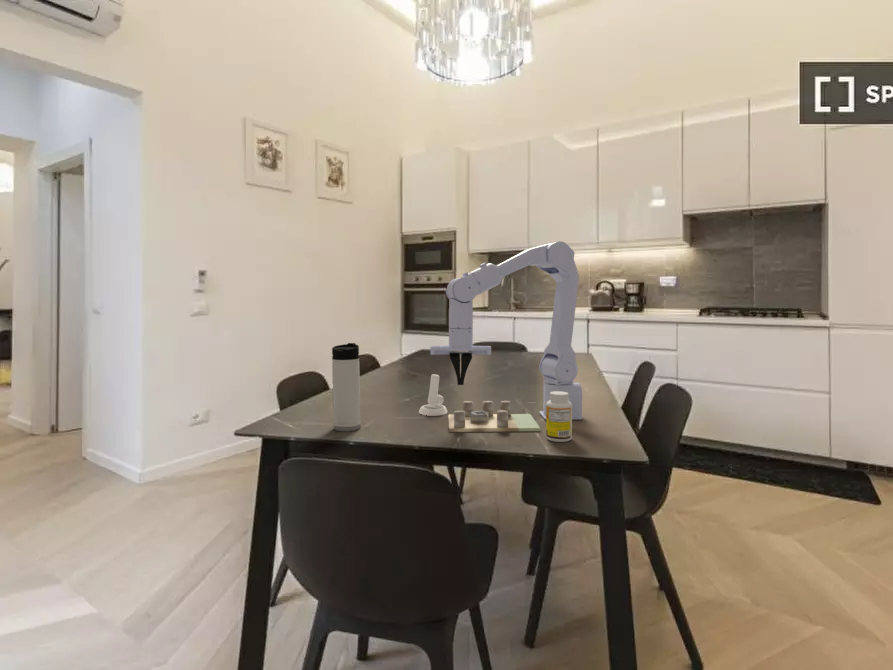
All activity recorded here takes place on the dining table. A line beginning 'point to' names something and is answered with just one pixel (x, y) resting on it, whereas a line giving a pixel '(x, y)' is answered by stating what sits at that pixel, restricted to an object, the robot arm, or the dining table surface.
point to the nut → (479, 416)
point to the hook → (434, 400)
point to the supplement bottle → (559, 417)
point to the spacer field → (494, 423)
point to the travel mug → (346, 387)
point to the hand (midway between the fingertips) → (460, 384)
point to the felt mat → (525, 422)
